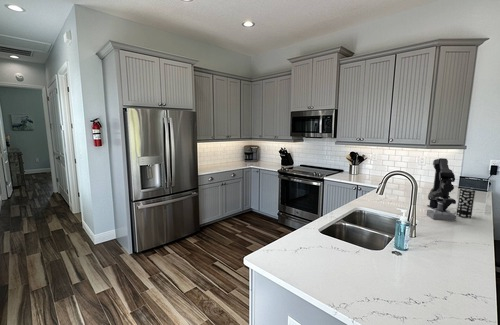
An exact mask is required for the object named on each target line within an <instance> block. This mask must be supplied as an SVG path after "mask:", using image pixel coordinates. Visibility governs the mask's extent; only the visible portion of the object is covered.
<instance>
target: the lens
mask: <svg viewBox="0 0 500 325" xmlns="http://www.w3.org/2000/svg"><path fill="white" fill-rule="evenodd" d="M446 210H447V209H446ZM446 210H445V211H443V203H442V202H441V201H438V207H437V211H440V212H446Z"/></svg>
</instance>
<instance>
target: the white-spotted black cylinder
mask: <svg viewBox="0 0 500 325" xmlns="http://www.w3.org/2000/svg"><path fill="white" fill-rule="evenodd" d="M475 195H476V190H474V189H469V188H459V194H458V201H457V208H456V214H455V215H456V217H458V218H462V219H463V218H464V219H471V218H472V215H473V211H474V210H473V209H474V203H475V202H474V201H475V198H476V197H475Z"/></svg>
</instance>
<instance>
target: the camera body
mask: <svg viewBox="0 0 500 325" xmlns="http://www.w3.org/2000/svg"><path fill="white" fill-rule="evenodd" d="M426 216H427V217H429V218H431V219H432V220H435V221H436V220H438V221H448V222H449V221H451V222H456V221H457V215H456V214H455V213H453V212H451V211H449V210H447V209H446V212H440V211H437V208H432V209H426Z"/></svg>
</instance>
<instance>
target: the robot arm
mask: <svg viewBox="0 0 500 325" xmlns="http://www.w3.org/2000/svg"><path fill="white" fill-rule="evenodd" d="M432 166H433V168H434V170H435V172H434V179H433V185H432V186H433V187H432V188H431V189H430V191H429V193H428V195H427V200H428V201H429V204H427V207H429V208H430V209H436V208H437V207H438V201H441V202H442V203H443V211H445V210H447V209H448V208H449V207H450V206H451V205H452V204H453V205H456V204H457V200H456V199H454V198H452V197H451V196H450V193H451V192H452V191H454V189H455V186H454V185H453V184H452V183H455V181H456V175H455V173H454V172H453V169H450V168H449V161H448V158H443V157H441V158H440V157H439V158H436V159H434V160H433V161H432Z"/></svg>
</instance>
